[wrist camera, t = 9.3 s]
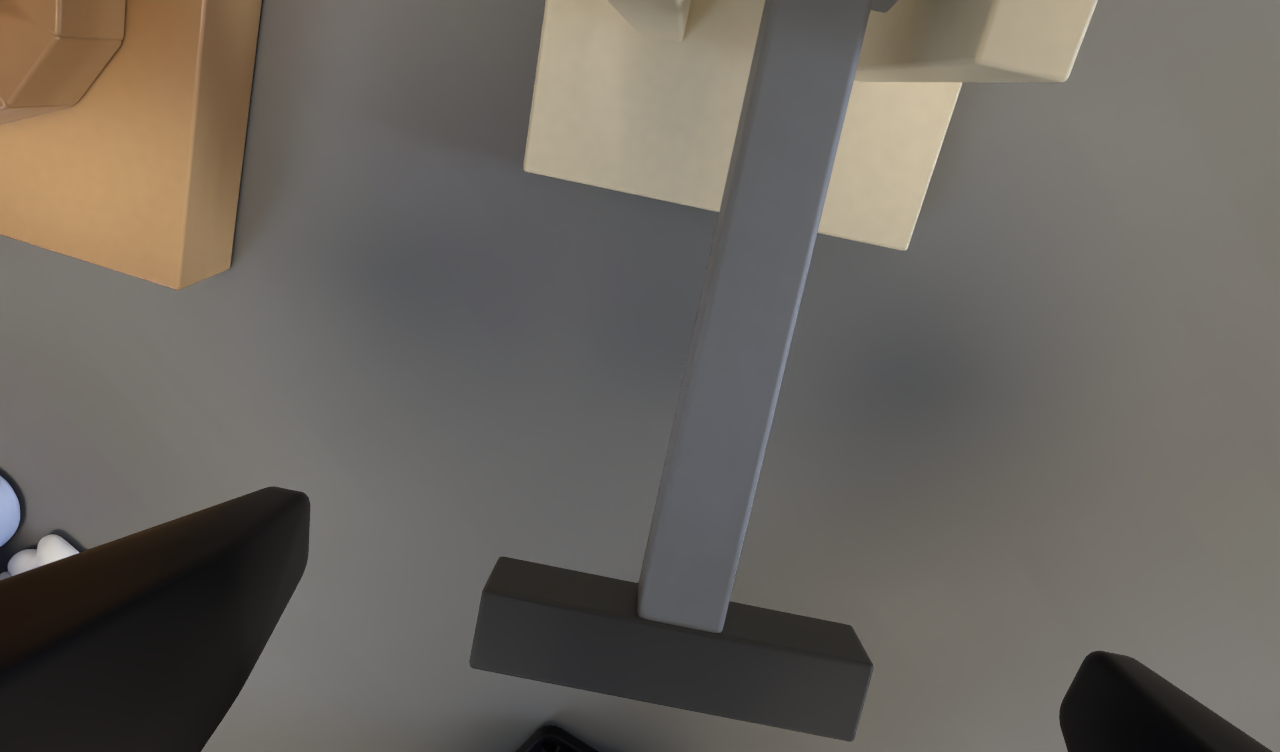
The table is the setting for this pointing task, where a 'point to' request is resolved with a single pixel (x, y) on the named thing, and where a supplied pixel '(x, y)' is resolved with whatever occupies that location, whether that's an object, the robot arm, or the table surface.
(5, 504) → the hippopotamus toy
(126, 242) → the button block
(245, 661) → the robot arm
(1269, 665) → the table surface
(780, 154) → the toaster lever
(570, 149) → the lever bracket
